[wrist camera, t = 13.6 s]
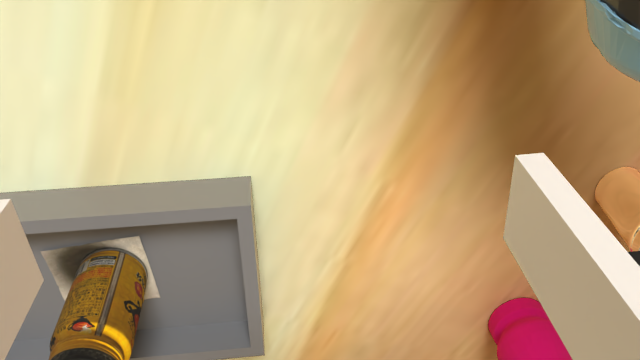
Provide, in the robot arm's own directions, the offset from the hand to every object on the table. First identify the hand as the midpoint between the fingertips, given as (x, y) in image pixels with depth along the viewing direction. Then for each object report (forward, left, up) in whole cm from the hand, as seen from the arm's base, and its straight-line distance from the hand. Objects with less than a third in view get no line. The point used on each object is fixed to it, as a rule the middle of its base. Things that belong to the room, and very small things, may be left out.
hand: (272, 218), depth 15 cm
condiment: (+15, +25, -29) cm, 41 cm away
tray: (+15, +25, -30) cm, 41 cm away
